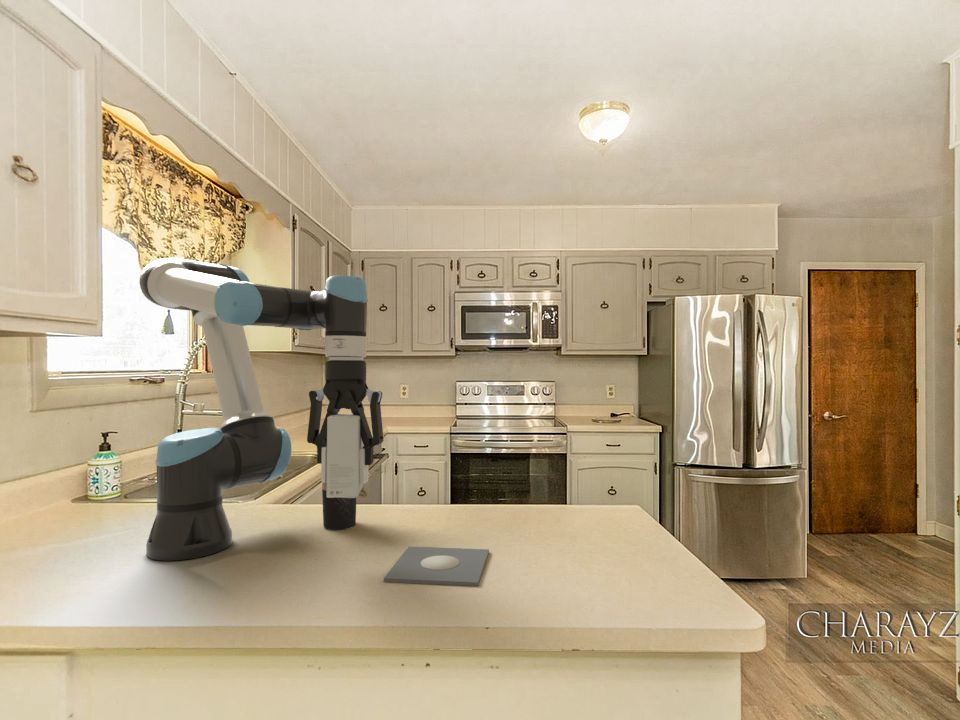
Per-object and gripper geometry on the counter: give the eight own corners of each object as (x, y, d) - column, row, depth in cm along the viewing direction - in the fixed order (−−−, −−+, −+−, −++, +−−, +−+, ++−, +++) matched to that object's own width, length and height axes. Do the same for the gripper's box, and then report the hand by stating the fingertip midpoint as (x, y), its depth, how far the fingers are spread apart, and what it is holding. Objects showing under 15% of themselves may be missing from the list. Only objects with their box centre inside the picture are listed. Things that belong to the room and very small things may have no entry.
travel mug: (361, 521, 126) (360, 435, 126) (350, 531, 118) (349, 440, 119) (329, 520, 127) (329, 435, 127) (316, 530, 119) (316, 440, 119)
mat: (383, 581, 90) (383, 577, 90) (408, 549, 106) (408, 545, 106) (477, 586, 88) (477, 581, 88) (489, 552, 104) (489, 548, 104)
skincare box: (358, 498, 97) (360, 416, 97) (324, 498, 96) (326, 416, 96) (362, 487, 105) (365, 412, 105) (331, 487, 105) (333, 411, 105)
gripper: (286, 358, 99) (285, 484, 99) (390, 359, 96) (389, 488, 96) (305, 359, 106) (304, 475, 106) (402, 359, 103) (401, 479, 103)
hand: (345, 481), depth 101 cm, fingers closed on skincare box, 7 cm apart
